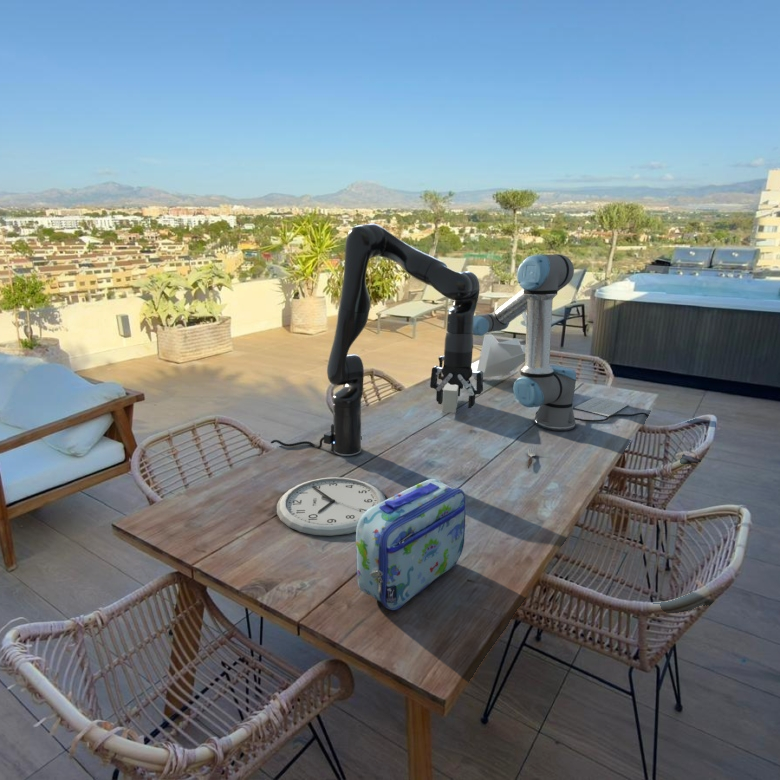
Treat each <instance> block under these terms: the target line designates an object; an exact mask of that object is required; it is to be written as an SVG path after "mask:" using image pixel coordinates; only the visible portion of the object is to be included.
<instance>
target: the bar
mask: <svg viewBox="0 0 780 780" xmlns="http://www.w3.org/2000/svg"><path fill="white" fill-rule="evenodd" d="M458 389H459V386H458V385H450V384H449V383H447V384H446V385H445V386H444V388H443V389H442V390H443V402H442V407H441V408H442V409H441V412H442V413H447V414H448V413H449V414H457V409H458V407H457V406H458V401H459V396H458Z"/></svg>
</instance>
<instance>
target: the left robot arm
mask: <svg viewBox="0 0 780 780" xmlns="http://www.w3.org/2000/svg"><path fill="white" fill-rule="evenodd" d="M344 247H345V248H344V266H343V270H344V271H343V277H342V285H341V286H342V287H341V293H340V299H339V304H338V309H337V317H336V325H335V331H334V337H333V340H332V345H331V349H330V351H329V352H330V353H329V357H328V360H327V367H326V374H327V379H328V381H329V383H331V385H334V386H343V387H342V388H341V389H339V390H338V391H336V392H335V393H334V394H333V396H332V417H333V418H332V419H333V420H332V421H333V422H332V423H331V424H330V430H329V431H328V432H325V433H323V436H322V437H321V438H320V440H319V445H316V444H314V443H313V442H311V441H307V440H305V441H298V442H294V443H285V442H282V441H281V440H279V439H272V440H271V441H270V444H274V443H278V444H280V445H282V446H283V447H296V446H299V445H310V446H312V447H313V448H315V449H321V448H322V447H323V443H324V444H327V445H330V447H331V449H330V451H331V452H333V453H334V454H335V455H337V456H340V457H353V456H357V455H359V454H360V453H361V452H362V441H363V440H362V439H363V436H362V398H363V394H364V377H365V370H364V369H365V368H364V363H363V360H362V358H361V357H360V356H359V355H358V354H349V350H350V349H351V347H352V345H353V344H354V342H355V341H357V339H358V337H359V336H360V335H361V333H362V332H363V330H365V327H366V325H367V323H368V320H369V315H370V309H371V296H370V293H369V290H368V287H367V282H366V274H367V269H368V265H369V261H370V259H374V258H377V257H380V258H385V259H388V260H391V261H393V262H395V263H396V264H397V265H398V266H399V267H401V268H402V270H404V272H405V273H406V274H408V275H409V276H410V277H412V278H413V279H415V280H417V281H419V282H421V283H423V284H425V285H427V286H430V287H432V288H433V289H434V290H435V291H437V292H438V293H439V294H441V295H442V296H443V297H445V298H447V299H449V300H452V301H453V304H452V309H451V310H450V311H449V312H448V311H447V315H446V326H445V327H446V329H445V337H444V349H443V356H444V361H443V365H442V368H440V367H439V365H435V366H433V367H432V368H431V373H430V384H429V387H430V389H434V390H435V391H436V393H435V395H436V397H435V398H436V399H435V401H436V402H437V404H438V405H442V404H443V390H444V388H443V387H444V386H445V385H446V384H447V383H449V384H450V385H458V386H461V385H463V388H464V389H465V390H466V391H467V392H468V394H469V395H468V402H467V409H472V408H473V407H474V406H475V404H476V395H481V394H482V392H483V391H484V378H483V372H482V371H479V372H474V371H472V368H471V366H472V363H473V350H474V335H473V317H474V315H475V313H476V309H477V305H478V302H479V296H480V290H481V288H480V287H481V286H480V280H479V277H478V276H477V275H476V274H475V272H474V273H473V272H470V271H460V272H458V271H455V270H453V269H451V268H449V267H448V266H447V264H446V263H445V262H443V261H442V260H440V259H438V258H435V257H433V256H431V255H429V254H427V253H425V252H422V251H421V250H418V249H417V248H415V247H412V246H411V245H409V244H408V243H405V242H404V241H403V240H401V239H399V238H398V237H397V236H395V235H394V234H392V233H391V232H390V231H388V230H387V229H386V228H385V227H384V228H383V227H382V226H381V225H379V224H377V223H366V224H360V225H356V226H353V227H351V229H350V230H348V233H347V235H346V239H345V246H344ZM440 372H442V374H441V375H442V376H443V375H444V377H445V379H444V380H443V381H442V380H441V382H440V383H438V375H439V374H440ZM473 376H474V377H473ZM471 377H473V379H474V380H476V387H474V385H473V382H472V381H471Z"/></svg>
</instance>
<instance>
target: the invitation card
mask: <svg viewBox="0 0 780 780" xmlns="http://www.w3.org/2000/svg"><path fill="white" fill-rule="evenodd" d="M628 406H629V404H627V403H623V402H618V401H614V400H609V399H605V398H601V397H596V396H593V397H592V398H590V399H588V400H586V401H584V402H582V403H580V404H578V405H575V406H574V407H573V409H575V410H581V411H584V412H587V413H593V414H596V415H600V416H604V417H608V416H610V415H613V414H617V412H619V411H621V410H623V409H624V408H626V407H628Z"/></svg>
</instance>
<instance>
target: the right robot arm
mask: <svg viewBox="0 0 780 780" xmlns="http://www.w3.org/2000/svg"><path fill="white" fill-rule="evenodd" d="M574 274H575V267H574V264H573V262H572V260H571V259H570V258H569V257H568V256H566V255H565V254H564V255H563V254H559V253H555V254H540V253H539V254H535V255H530V256H528V257H526V258H525V259H523V261H522V262H521V263H520V264H519V266H518V268H517V273H516V279H517V283H518V284H519V286H520V288H521V290H520V291H518V292H517V293H516V294H515V295H513V296H512V297H511V298H509V299H508V300H507V301H505V303H503V304H502V305H501V306H499V307H498V308H496V309H495V310H494V311H492V312H491V313H484V314H476V315H475V314H474V317H473V336H479V337H482V336H483V337H484V335H486V334H487V333H492V332H500V331H503V330H504V331H505V330H506V329H507V328H508V327H509V325H510V323H511V322H512V321H513V320H515V319H516V318H518V317H519V316H520V315H522V313H523V312H525V313H526V315H527V326H526V325H525V344H526V352H525V362H524V365H523V366H522V367H521V368H520V372H519V373H520V374H519V377H518V378H517V379H516V380H515V381H514V383H513V388H512V389H513V394H514V397H515V399H516V400H517V401H518V403H519V404H520V405H522V406H523V407H526V408H538V410H537V411H536V412H535V417H534V424H535V425H536V426H537V427H539V428H542V429H544V430H549V431H556V432H567V431H572V430H574V429H575V428H576V421H579V422H580V421H581V422H591V423H595V422H596V423H598V422H606V421H607V420H609V419H610V418H611V417H634V416H640V415H644V416H646V417H650V416H649V414H648V413H646V412H636V413H614V414H613V415H610V416H606V418H602V419H585V418H584V419H583V418H579V417H576V416H575V413H574V407H573V405H574V398H575V390H576V383H577V372H576V371H575V369H572V368H571V367H570V368H569V367H566V366H561V365H551V363H550V362H551V361H550V360H551V341H552V340H551V339H552V323H553V322H552V321H553V320H552V319H553V302H554V301H553V300H554V298H555V297H556V296H557V295H558V292H559V291H560V290H562V289H563V288H565V287H566V286H567V285H568V284H569V283H570V282H572V280H573V277H574ZM452 307H453V306H452ZM452 307H449V308H448V309H447V310H448V311H447V313H448V312H449V311H450V310H451V309H452ZM438 362H439V365H438V367H440V368H443V365H444V355H440V356H438ZM549 364H550V365H549ZM444 379H445V377H444V375H443V374H442V372H440V374H439V375H438V378H437V380H440V381H441V382H442V381H443V380H444ZM442 389H444V387H443V388H442ZM462 389H464V386H463V385H461V386H459V389H458V397H461V390H462Z"/></svg>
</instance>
